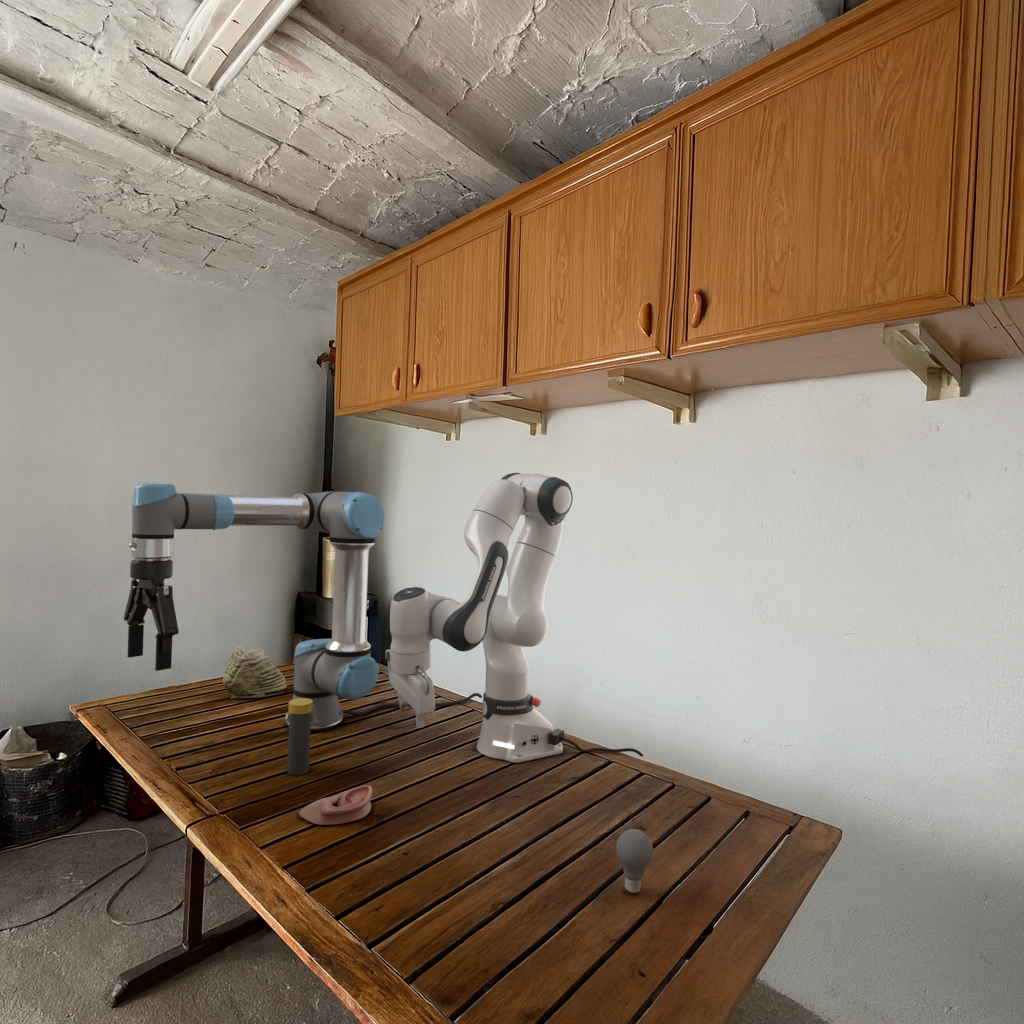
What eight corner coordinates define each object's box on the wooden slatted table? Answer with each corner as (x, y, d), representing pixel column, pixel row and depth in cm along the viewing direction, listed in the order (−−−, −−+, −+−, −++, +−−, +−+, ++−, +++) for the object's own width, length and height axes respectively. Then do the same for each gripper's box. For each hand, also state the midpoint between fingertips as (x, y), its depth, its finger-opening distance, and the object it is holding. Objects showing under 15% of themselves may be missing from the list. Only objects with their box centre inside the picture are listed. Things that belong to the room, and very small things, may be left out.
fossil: (218, 695, 195) (220, 647, 195) (278, 685, 208) (279, 640, 207) (228, 703, 189) (230, 653, 188) (289, 692, 201) (290, 645, 201)
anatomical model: (291, 800, 123) (320, 775, 134) (290, 820, 123) (320, 794, 134) (354, 810, 120) (379, 784, 132) (353, 830, 121) (378, 803, 132)
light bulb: (610, 879, 108) (613, 822, 108) (644, 879, 109) (647, 822, 109) (619, 902, 102) (622, 840, 102) (655, 901, 103) (658, 840, 103)
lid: (295, 705, 148) (296, 697, 148) (316, 708, 148) (316, 699, 147) (283, 713, 143) (284, 704, 143) (305, 715, 142) (305, 706, 142)
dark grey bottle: (294, 765, 148) (296, 699, 148) (312, 767, 148) (315, 701, 147) (283, 774, 144) (285, 705, 143) (302, 776, 143) (305, 707, 143)
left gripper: (108, 554, 134) (104, 654, 134) (159, 565, 118) (155, 678, 119) (146, 552, 140) (143, 648, 140) (199, 563, 124) (195, 671, 124)
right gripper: (441, 672, 135) (442, 733, 137) (408, 644, 153) (409, 698, 155) (414, 678, 132) (415, 740, 134) (382, 648, 150) (384, 704, 152)
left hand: (148, 662), depth 129 cm, fingers open, 13 cm apart
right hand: (411, 718), depth 145 cm, fingers open, 8 cm apart
